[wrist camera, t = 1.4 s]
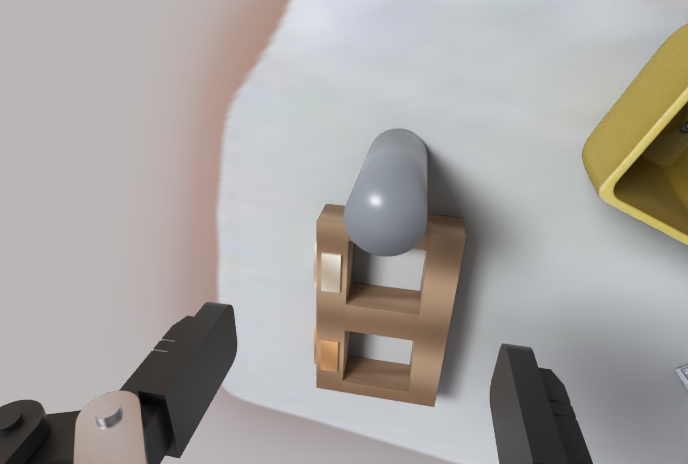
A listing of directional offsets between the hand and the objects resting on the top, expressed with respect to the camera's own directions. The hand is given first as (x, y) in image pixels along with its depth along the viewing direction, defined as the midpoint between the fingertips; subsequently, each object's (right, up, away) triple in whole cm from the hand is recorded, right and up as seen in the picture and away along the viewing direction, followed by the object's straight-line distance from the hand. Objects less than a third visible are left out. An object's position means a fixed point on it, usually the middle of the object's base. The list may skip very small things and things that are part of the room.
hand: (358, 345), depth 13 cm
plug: (+3, +8, +16) cm, 19 cm away
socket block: (+3, -2, +22) cm, 22 cm away
